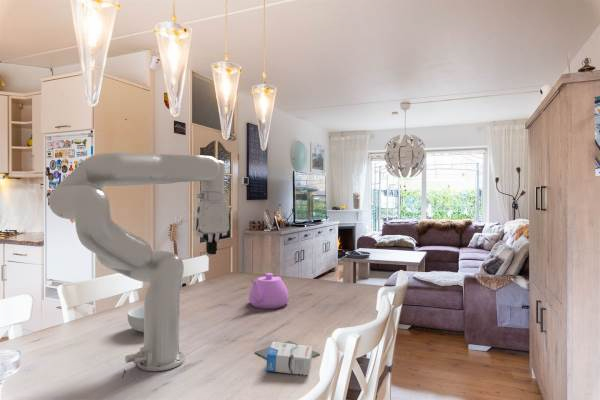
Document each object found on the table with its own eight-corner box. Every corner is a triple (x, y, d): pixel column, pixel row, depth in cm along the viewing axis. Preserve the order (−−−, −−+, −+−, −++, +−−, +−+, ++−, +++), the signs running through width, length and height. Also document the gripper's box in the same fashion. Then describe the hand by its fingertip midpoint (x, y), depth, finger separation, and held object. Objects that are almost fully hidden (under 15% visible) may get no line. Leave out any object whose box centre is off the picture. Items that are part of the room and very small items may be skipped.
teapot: (265, 296, 187) (266, 267, 187) (298, 301, 179) (298, 271, 179) (234, 308, 165) (234, 276, 165) (269, 315, 156) (269, 281, 156)
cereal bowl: (123, 340, 127) (123, 319, 127) (131, 324, 143) (131, 305, 143) (177, 336, 131) (178, 315, 131) (179, 321, 147) (179, 302, 147)
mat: (284, 368, 107) (284, 366, 107) (254, 352, 118) (254, 351, 118) (319, 354, 117) (319, 353, 117) (289, 341, 127) (289, 340, 127)
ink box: (265, 371, 104) (308, 376, 103) (266, 353, 104) (310, 358, 103) (271, 357, 113) (312, 362, 111) (272, 340, 112) (313, 345, 111)
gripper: (196, 197, 118) (195, 257, 118) (238, 198, 128) (237, 253, 128) (185, 197, 124) (184, 254, 124) (226, 198, 134) (226, 251, 134)
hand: (211, 253), depth 126 cm, fingers closed
